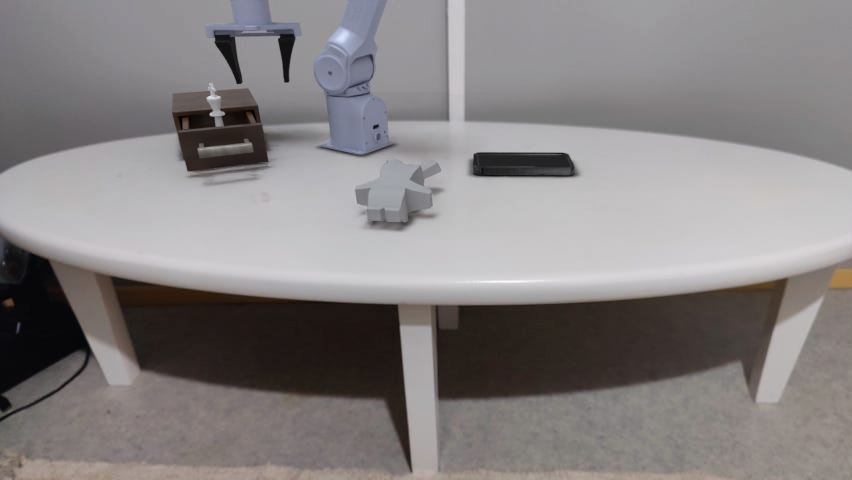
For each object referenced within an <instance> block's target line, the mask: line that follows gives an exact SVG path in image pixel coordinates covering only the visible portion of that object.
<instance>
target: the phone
mask: <svg viewBox="0 0 852 480" xmlns="http://www.w3.org/2000/svg"><path fill="white" fill-rule="evenodd" d="M472 158H473V160H472V161H473V162H472V172H473V173H472V174H474V175H479V176H573V175H574V174H575V165H574V162H573V160H572V158H571V155H570V154H569V153H567V152H554V151H553V152H549V151H548V152H547V151H545V152H541V151H540V152H537V151H534V152H530V151H529V152H527V151H525V152H524V151H523V152H522V151H521V152H520V151H515V152H514V151H510V152H508V151H507V152H505V151H503V152H502V151H498V152H497V151H478V152H477V151H476V152H474V153H473V156H472Z"/></svg>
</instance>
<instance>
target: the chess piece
mask: <svg viewBox="0 0 852 480" xmlns="http://www.w3.org/2000/svg"><path fill="white" fill-rule="evenodd" d="M216 90H217V88H215V87H214V83H213V82H211V83H208V87H207V91H210V93H211V95H210V96H208V97H207V98H206V99H207V101H208V103H209V104H210V106H211V108H212V110H213V111H212V112H211V113H210V116H213V117H215V125H216V127H220V126H224V124H223V121H222V117H221V116H223V115H225V113H224V112H222V111H221V110H220V107H221V97H220V96H217V95H215V92H217V91H216Z"/></svg>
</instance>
